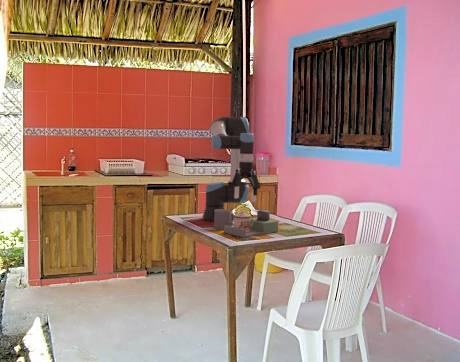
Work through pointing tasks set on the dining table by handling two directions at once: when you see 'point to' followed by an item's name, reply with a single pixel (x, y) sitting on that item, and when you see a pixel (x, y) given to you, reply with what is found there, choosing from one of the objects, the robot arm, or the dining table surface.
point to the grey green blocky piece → (255, 226)
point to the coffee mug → (222, 218)
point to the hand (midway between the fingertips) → (245, 199)
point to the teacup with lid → (243, 221)
